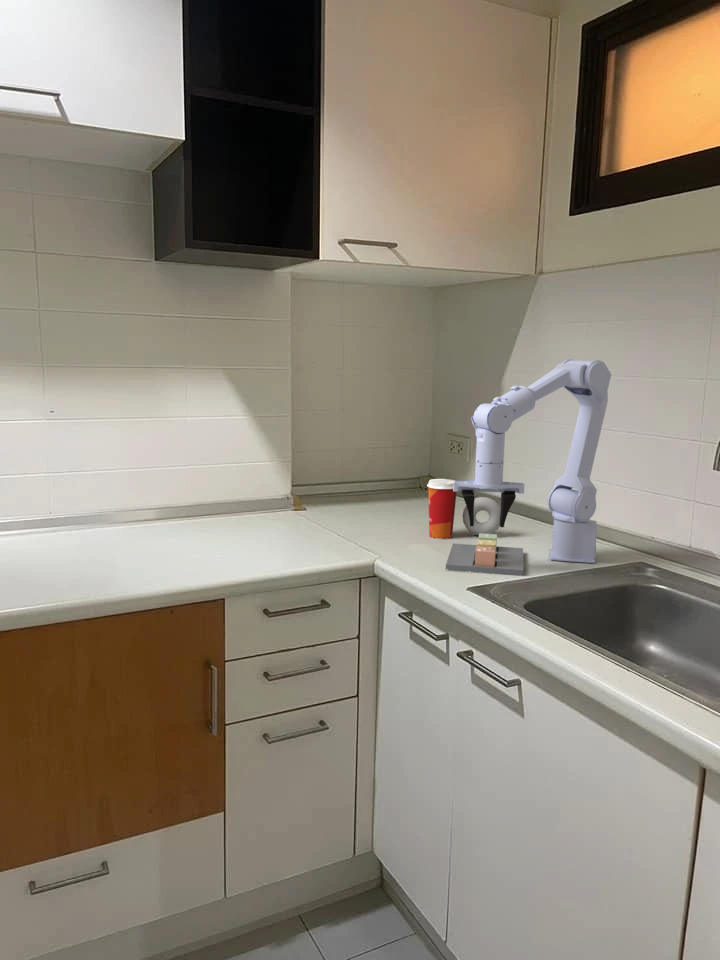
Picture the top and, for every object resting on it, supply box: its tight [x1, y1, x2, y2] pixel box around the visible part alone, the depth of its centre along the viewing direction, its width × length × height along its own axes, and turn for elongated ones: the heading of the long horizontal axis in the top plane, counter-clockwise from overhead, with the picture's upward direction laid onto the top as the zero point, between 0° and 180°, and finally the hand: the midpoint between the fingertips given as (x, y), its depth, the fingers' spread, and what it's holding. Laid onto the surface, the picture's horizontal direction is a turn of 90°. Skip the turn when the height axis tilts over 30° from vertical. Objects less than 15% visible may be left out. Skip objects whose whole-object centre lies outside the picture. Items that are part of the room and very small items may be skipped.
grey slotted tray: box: [445, 543, 524, 577], centre depth 164 cm, size 16×18×1 cm
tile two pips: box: [476, 539, 497, 556], centre depth 164 cm, size 4×4×3 cm
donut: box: [461, 496, 501, 537], centre depth 186 cm, size 10×3×10 cm, turn 84°
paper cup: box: [426, 478, 457, 540], centre depth 185 cm, size 8×8×14 cm
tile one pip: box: [477, 533, 498, 546], centre depth 170 cm, size 4×4×3 cm
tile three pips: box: [474, 546, 496, 567], centre depth 158 cm, size 4×4×3 cm
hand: (486, 525), depth 157 cm, fingers open, 6 cm apart
